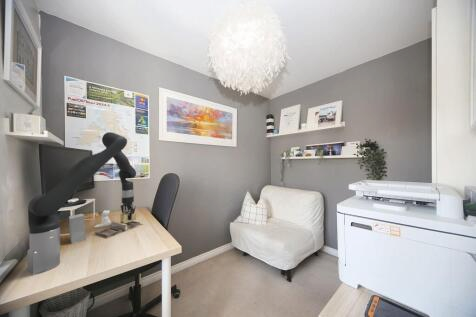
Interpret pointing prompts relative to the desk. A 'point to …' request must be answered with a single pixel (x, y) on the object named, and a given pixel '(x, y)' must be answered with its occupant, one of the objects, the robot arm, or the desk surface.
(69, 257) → the desk surface
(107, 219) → the white creature statuette
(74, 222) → the skincare box
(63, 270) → the desk surface
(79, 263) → the desk surface
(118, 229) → the lock board
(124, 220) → the stop bar
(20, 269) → the desk surface
